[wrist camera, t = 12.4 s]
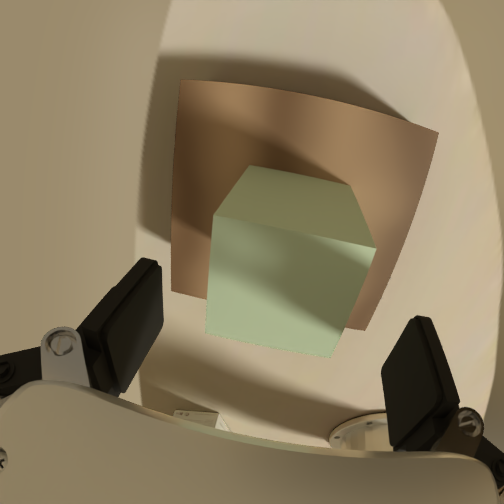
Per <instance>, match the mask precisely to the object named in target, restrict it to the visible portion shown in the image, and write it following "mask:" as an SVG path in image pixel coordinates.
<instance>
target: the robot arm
mask: <svg viewBox="0 0 504 504" xmlns="http://www.w3.org/2000/svg"><path fill="white" fill-rule="evenodd" d="M163 322H164V316H163V293H162V267H161V266H159V265H158V262H157V261H156V260H151V259H147V258H141V259H140V260H139V261H138V262H137V263H136V264H135V265H134V266H133V267H132V269H131V270H130V271H129V272H128V273H127V274H126V275H125V276H124V277H123V278H122V280H121V281H120V282H119V283H118V284H117V285H116V286H115V287H113V288H111V290H110V291H109V292H108V293H107V294H106V295H105V296H104V298H103V299H102V300H101V301H100V302H99V303H98V305H97V306H96V307H95V308H94V309H93V310H92V312H91V313H90V314H89V315H88V316H87V317H86V318H85V320H84V321H83V322H82V323H81V325H80V326H79V327H78V328H77V329H76V330H74V329H72V328H69V327H57V328H54V329H52V330H50V331H49V332H47V333H46V334H45V335H44V337H43V339H42V340H41V346H40V347H35V348H31V349H27V350H22V351H18V352H13V353H9V354H4V355H0V504H504V453H503V452H501V451H500V450H499V449H498V448H497V447H495V446H494V445H493V444H492V443H491V442H490V441H488V440H487V439H486V438H485V437H484V436H483V433H484V422H483V419H482V417H481V416H480V414H479V413H478V412H477V411H476V410H474V409H472V408H469V407H462V408H460V409H459V405H458V404H459V403H460V399H459V396H458V393H457V389H456V386H455V383H454V380H453V377H452V374H451V371H450V368H449V365H448V362H447V359H446V356H445V354H444V351H443V348H442V345H441V343H440V340H439V338H438V335H437V332H436V330H435V327H434V325H433V322H432V320H431V318H429V317H424V316H418V315H417V316H415V317H414V318H412V319H410V320H409V322H408V324H407V325H406V327H405V329H404V331H403V333H402V334H401V336H400V338H399V340H398V341H397V343H396V345H395V346H394V348H393V350H392V351H391V353H390V355H389V356H388V358H387V360H386V361H385V363H384V364H383V366H382V370H381V377H382V384H383V391H384V398H385V406H386V413H378V414H370V415H366V416H361V417H358V418H355V419H352V420H349V421H347V422H345V423H343V424H341V425H339V426H338V427H337V428H335V429H334V430H333V431H332V432H331V434H330V436H329V444H330V446H331V448H323V447H314V446H306V445H298V444H291V443H285V442H279V441H273V440H267V439H262V438H256V437H251V436H247V435H242V434H237V433H233V432H228V431H224V430H220V429H216V428H212V427H208V426H204V425H201V424H197V423H193V422H190V421H186V420H183V419H180V418H176V417H173V416H170V415H167V414H164V413H161V412H158V411H155V410H152V409H149V408H146V407H143V406H140V405H137V404H134V403H131V402H129V401H126V400H123V399H120V398H118V397H119V395H120V393H125V392H126V390H127V389H128V387H129V385H130V383H131V381H132V379H133V378H134V376H135V374H136V373H137V371H138V369H139V367H140V365H141V364H142V362H143V360H144V358H145V357H146V355H147V353H148V351H149V350H150V348H151V346H152V345H153V343H154V341H155V339H156V338H157V336H158V334H159V332H160V331H161V329H162V326H163Z"/></svg>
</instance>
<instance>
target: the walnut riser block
mask: <svg viewBox="0 0 504 504" xmlns="http://www.w3.org/2000/svg"><path fill="white" fill-rule="evenodd" d="M438 134H439V133H438V132H436V131H433V130H430V129H428V128H425V127H422V126H420V125H417V124H414V123H411V122H408V121H405V120H402V119H399V118H396V117H393V116H390V115H387V114H383V113H380V112H377V111H373V110H370V109H366V108H362V107H359V106H355V105H351V104H347V103H343V102H339V101H335V100H331V99H326V98H322V97H317V96H312V95H307V94H302V93H297V92H291V91H286V90H280V89H273V88H267V87H260V86H252V85H244V84H235V83H226V82H214V81H201V80H182V79H181V82H180V91H179V101H178V111H177V122H176V134H175V148H174V164H173V184H172V213H171V291H173V292H177V293H181V294H185V295H190V296H194V297H198V298H202V299H206V300H207V290H208V276H209V262H210V249H211V237H212V225H213V215H214V213H215V212H216V211H217V209H218V208H219V206H220V205H221V204H222V202H223V201H224V199H225V198H226V197H227V195H228V194H229V192H230V191H231V190H232V188H233V187H234V185H235V184H236V183H237V181H238V180H239V179H240V177H241V176H242V175H243V173H244V172H245V170H246V169H247V168H248V166H249V165H253V166H259V167H264V168H270V169H275V170H280V171H285V172H290V173H295V174H300V175H305V176H310V177H314V178H319V179H324V180H328V181H332V182H337V183H341V184H345V185H349V186H351V188H352V190H353V192H354V195H355V197H356V199H357V202H358V204H359V206H360V209H361V211H362V213H363V216H364V218H365V221H366V223H367V225H368V228H369V230H370V233H371V235H372V238H373V241H374V243H375V246H376V248H377V249H376V252H375V255H374V257H373V260H372V263H371V265H370V268H369V271H368V273H367V276H366V278H365V281H364V283H363V286H362V288H361V291H360V293H359V295H358V298H357V300H356V303H355V305H354V307H353V310H352V312H351V314H350V317H349V319H348V321H347V323H346V326H345V328H351V329H357V330H363V331H365V330H366V328H367V326H368V324H369V322H370V320H371V318H372V316H373V314H374V312H375V310H376V307H377V305H378V303H379V301H380V299H381V297H382V294H383V292H384V290H385V288H386V286H387V283H388V281H389V279H390V276H391V274H392V272H393V269H394V267H395V265H396V262H397V260H398V257H399V255H400V252H401V250H402V247H403V245H404V242H405V239H406V237H407V234H408V231H409V229H410V226H411V223H412V220H413V218H414V215H415V212H416V209H417V206H418V203H419V200H420V197H421V194H422V191H423V188H424V185H425V181H426V178H427V175H428V171H429V168H430V164H431V161H432V157H433V154H434V150H435V146H436V142H437V138H438Z"/></svg>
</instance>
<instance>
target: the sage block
mask: <svg viewBox="0 0 504 504" xmlns="http://www.w3.org/2000/svg"><path fill="white" fill-rule="evenodd" d="M376 249H377V248H376V246H375V243H374V241H373V238H372V235H371V233H370V230H369V228H368V225H367V223H366V221H365V218H364V216H363V213H362V211H361V209H360V206H359V204H358V202H357V199H356V197H355V195H354V192H353V190H352V188H351V186H349V185H345V184H341V183H337V182H332V181H328V180H324V179H319V178H314V177H310V176H305V175H300V174H295V173H290V172H285V171H280V170H275V169H270V168H264V167H259V166H253V165H249V166H248V168H247V169H246V170H245V172H244V173H243V175H242V176H241V177H240V179H239V180H238V181H237V183H236V184H235V185H234V187H233V188H232V190H231V191H230V192H229V194H228V195H227V197H226V198H225V199H224V201H223V202H222V204H221V205H220V206H219V208H218V209H217V211H216V212H215V213H214V215H213V225H212V237H211V249H210V262H209V276H208V290H207V306H206V323H205V333H206V334H211V335H215V336H219V337H223V338H227V339H232V340H236V341H241V342H245V343H250V344H255V345H260V346H265V347H270V348H275V349H280V350H285V351H290V352H296V353H302V354H307V355H313V356H319V357H326V358H331V356H332V354H333V352H334V349H335V347H336V345H337V343H338V341H339V339H340V337H341V335H342V332H343V330H344V328H345V326H346V323H347V321H348V319H349V317H350V314H351V312H352V310H353V307H354V305H355V303H356V300H357V298H358V295H359V293H360V291H361V288H362V286H363V283H364V281H365V278H366V276H367V273H368V271H369V268H370V265H371V263H372V260H373V257H374V255H375V252H376Z"/></svg>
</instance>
